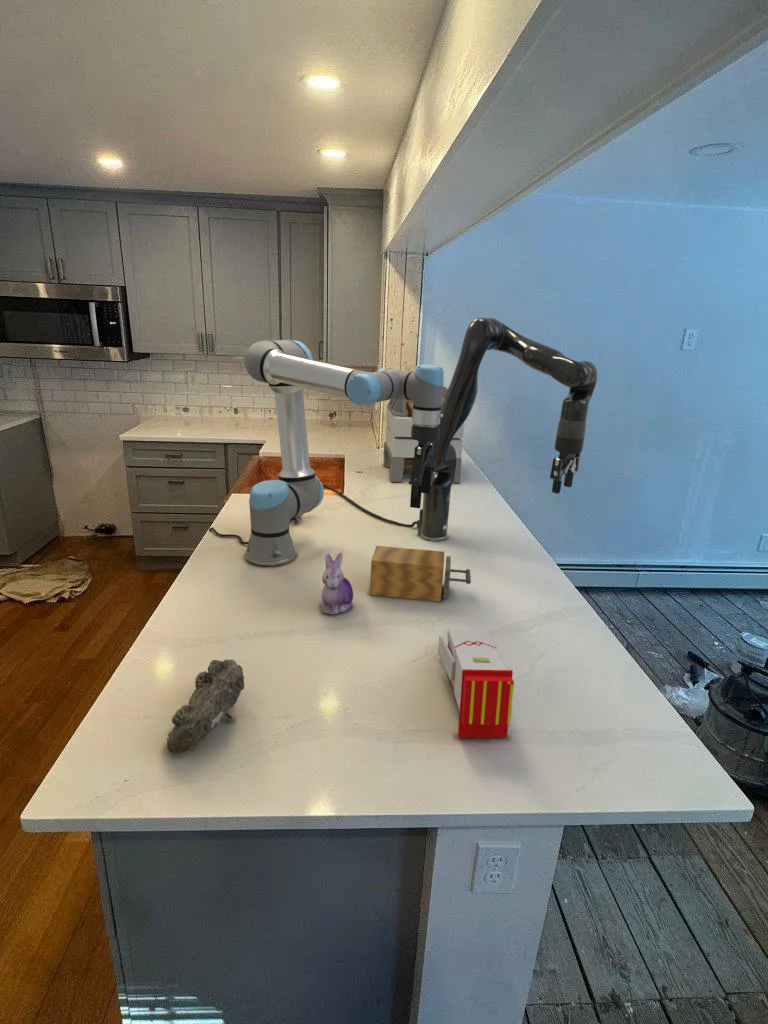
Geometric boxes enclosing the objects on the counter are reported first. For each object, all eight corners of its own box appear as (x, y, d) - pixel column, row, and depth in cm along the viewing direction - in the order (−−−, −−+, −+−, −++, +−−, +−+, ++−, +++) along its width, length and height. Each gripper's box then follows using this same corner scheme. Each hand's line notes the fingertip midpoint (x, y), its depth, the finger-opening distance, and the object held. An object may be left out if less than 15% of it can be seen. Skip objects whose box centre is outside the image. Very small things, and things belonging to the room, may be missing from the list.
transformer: (382, 463, 289) (386, 382, 275) (445, 464, 293) (451, 384, 279) (390, 482, 257) (394, 392, 243) (460, 483, 261) (468, 394, 247)
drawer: (468, 584, 163) (471, 558, 160) (469, 600, 154) (472, 572, 151) (385, 577, 165) (387, 550, 162) (382, 591, 157) (383, 563, 154)
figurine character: (300, 529, 203) (305, 510, 217) (300, 510, 200) (305, 492, 213) (282, 528, 203) (287, 510, 216) (281, 509, 200) (287, 492, 213)
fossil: (192, 660, 117) (244, 628, 112) (224, 691, 120) (276, 661, 115) (142, 746, 98) (202, 712, 93) (182, 779, 101) (242, 748, 96)
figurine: (327, 619, 143) (328, 565, 138) (313, 601, 152) (313, 549, 147) (361, 611, 147) (363, 559, 142) (345, 594, 156) (346, 544, 151)
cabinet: (441, 584, 164) (444, 551, 161) (440, 601, 155) (443, 566, 151) (374, 578, 166) (376, 545, 163) (370, 594, 157) (371, 560, 153)
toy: (488, 613, 130) (523, 677, 101) (484, 667, 133) (517, 744, 104) (435, 612, 130) (455, 676, 101) (432, 666, 133) (451, 743, 103)
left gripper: (430, 435, 139) (424, 516, 146) (447, 418, 162) (441, 489, 169) (401, 432, 141) (396, 512, 148) (421, 415, 164) (416, 485, 171)
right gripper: (567, 429, 166) (559, 482, 172) (547, 435, 156) (539, 491, 161) (592, 433, 162) (583, 487, 167) (573, 440, 151) (564, 498, 157)
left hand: (420, 500), depth 159 cm, fingers open, 13 cm apart
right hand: (561, 489), depth 164 cm, fingers open, 8 cm apart
